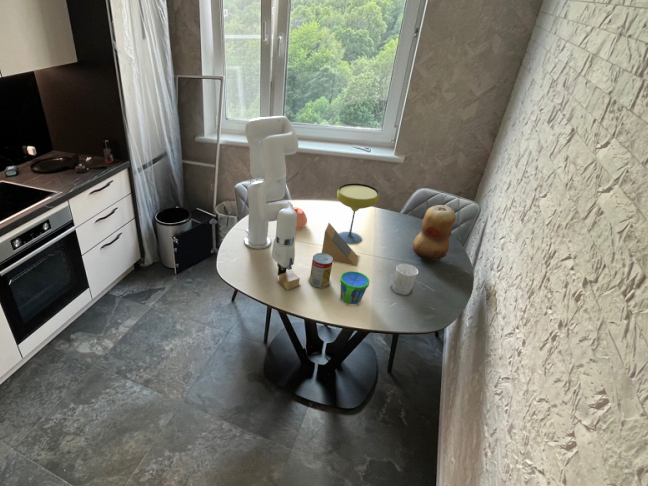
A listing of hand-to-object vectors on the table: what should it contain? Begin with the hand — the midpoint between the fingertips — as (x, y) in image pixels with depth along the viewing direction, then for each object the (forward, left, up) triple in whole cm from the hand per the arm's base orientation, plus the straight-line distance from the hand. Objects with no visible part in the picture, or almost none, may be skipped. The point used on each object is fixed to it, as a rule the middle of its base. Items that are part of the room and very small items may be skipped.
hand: (281, 275), depth 171 cm
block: (+5, 0, -1) cm, 5 cm away
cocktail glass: (-11, +48, -2) cm, 49 cm away
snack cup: (+25, +15, -2) cm, 29 cm away
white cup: (+30, +37, -2) cm, 48 cm away
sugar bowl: (-35, +32, -2) cm, 47 cm away
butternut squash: (+19, +65, -2) cm, 68 cm away
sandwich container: (0, +32, -2) cm, 32 cm away
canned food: (+10, +12, -2) cm, 16 cm away
